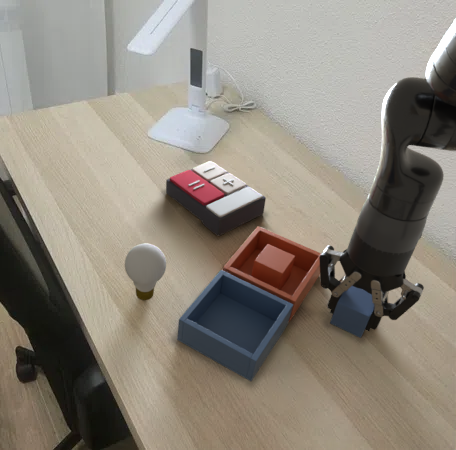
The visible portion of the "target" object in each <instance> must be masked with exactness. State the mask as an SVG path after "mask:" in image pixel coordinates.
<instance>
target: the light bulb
mask: <svg viewBox="0 0 456 450" xmlns="http://www.w3.org/2000/svg"><path fill="white" fill-rule="evenodd" d="M166 269H167V259H166V256H165V254H164V253H163V250H161V249H160V248H159V247H158V246H156V245H154V244H152V243H147V242H146V243H139V244H136V245H134V246H133V247H132V248H131V249H130V250H129V251H128V252H127V253H126V256H125V259H124V270H125V273H126V275H127V277H128V279H130V280H131V281H132V282H133V286H134V287H135V296H136V297H137V299H138V300H141V301H150V300H151V299H152V298H153V297H154V293H155V287H156V285H157V282H159V281H160V280H161V279H162V278H163V277H164V275H165V273H166Z"/></svg>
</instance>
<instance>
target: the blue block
mask: <svg viewBox="0 0 456 450" xmlns="http://www.w3.org/2000/svg"><path fill="white" fill-rule="evenodd" d="M373 310H374V304H373V303H372V294H370V293H368V292H366V291H365V290H363V289H360V288H356V287H354V286H351V287H350V288H349V289H348V290H347V291H345V292H344V293H343V294H342V296H341V297H340V299H339V301H338V303H337V305H336V308H335V311H334V313H333V314H332V316H331V319H330V322H329V324H331V325H332V326H335V327H337V328H339V329H340V330H343V331H345V332H347V333H349V334H351V335H353V336H355V337H357V338H360V339H361V338H362V337H363V335H364V333H365V331H366V330H365V328H366V326H367V323H368V321H369V319H370V317H371V314H372V312H373Z"/></svg>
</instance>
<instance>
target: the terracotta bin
mask: <svg viewBox="0 0 456 450" xmlns="http://www.w3.org/2000/svg"><path fill="white" fill-rule="evenodd" d="M267 244H269V245H272V246H274V247H276V248H278V249H281V250H283V251H285V252H287V253H290V254H292V255H294V256H295V259H294V263H293V266H292V270H291V274H290V277H289V279H288V280H287V281H286V283H285V284H284V286H283V287H282V289H281V290H279V289H277V288H274V287H272V286H270V285H268V284H266V283H264V282H262V281H260V280H258V279H256V278H253V277H251V275H252V270H253V266H254V261H255V259H256V258H257V257H258V256H259V254H260V253H261V252H262V251H263V249H264V248H265V247H266V245H267ZM321 254H322V252H319V251H316V250H315V249H312V248H310V247H307V246H305V245H304V244H303V245H302V244H300V243H298V242H296V241H294V240H291V239H289V238H286V237H284V236H282V235H281V234H277V233H275V232H273V231H271V230H268V229H266V228H263V227H261V226H256V227H255V229H254V230H253V231H252V232H251V233H250V235H249V236H248V237H246V239H245V241H244V242H243V243H242V244H241V245H240V246H239V247H238V249H237V250H236V251H235V252H234V254H232V256H231V257H230V258H229V259H228V261H227V262H226V263H225V264H224V265H223V266H222V270H223V271H225V272H227V273H229V274H231V275H233V276H235V277H237V278H239V279H242V280H244V281H246V282H248V283H250V284H252V285H254V286H256V287H258V288H260V289H262V290H264V291H266V292H268V293H271V294H273V295H275V296H277V297H279V298H281V299H283V300H285V301H287V302H289V303H291V304H293V308H292V312H291V315H290V318H289V322H288V323H290V322H291V321H292V319H293V317H294V316H295V314H296V312H297V311H298V310H299V308H300V307H301V305H302V303H303V302H304V300H305V299H306V297H307V295H308V294H309V293H310V291H311V290H312V288H313V286H314V284H316V282H317V280H318V279H319V277H320V259H319V257H320V255H321Z"/></svg>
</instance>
